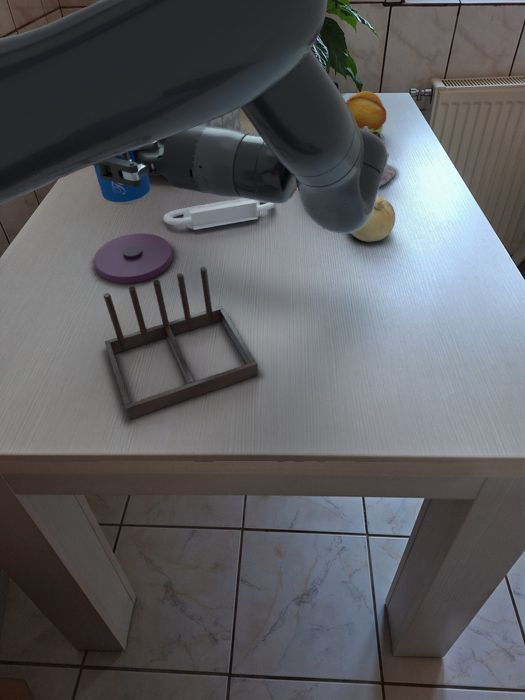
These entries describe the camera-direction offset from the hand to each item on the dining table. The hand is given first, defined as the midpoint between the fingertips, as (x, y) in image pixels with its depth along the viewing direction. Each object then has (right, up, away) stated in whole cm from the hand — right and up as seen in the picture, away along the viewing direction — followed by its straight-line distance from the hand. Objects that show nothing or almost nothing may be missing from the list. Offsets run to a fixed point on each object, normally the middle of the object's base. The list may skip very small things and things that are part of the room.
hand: (100, 142), depth 64 cm
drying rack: (+11, -28, -1) cm, 30 cm away
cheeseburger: (+43, +21, +47) cm, 67 cm away
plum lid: (+1, -12, +15) cm, 19 cm away
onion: (+39, -8, +18) cm, 43 cm away
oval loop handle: (+14, -4, +24) cm, 28 cm away
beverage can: (+3, -6, +4) cm, 8 cm away
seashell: (+41, +7, +33) cm, 53 cm away
